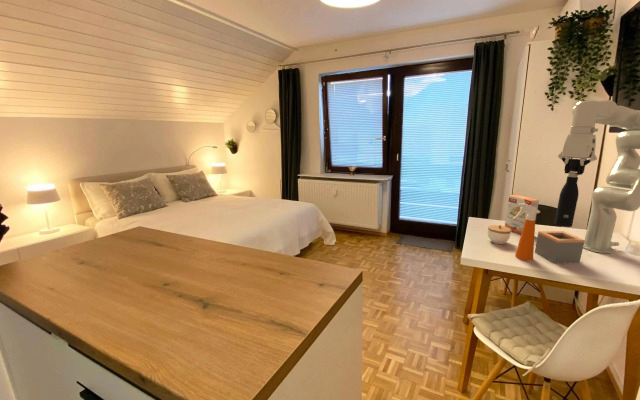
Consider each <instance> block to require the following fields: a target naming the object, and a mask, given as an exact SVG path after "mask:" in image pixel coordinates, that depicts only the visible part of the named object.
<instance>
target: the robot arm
mask: <svg viewBox="0 0 640 400" xmlns="http://www.w3.org/2000/svg"><path fill="white" fill-rule="evenodd" d="M571 113H572V116H573V117H572V122H571V128H570V130H569V131H570V132H569V134H567V135H566V138H565V141H564V144H563V147H562V151H561V152H560V153H559V154H558V155H557V157H558V158H559V159H560V160H562V162H563V164H564V174H568V173H569V172H571V171H570V169H571V167H569V164H570V159H580V166H578V170H577V172H576V173H577V175H578V176H582V175H583V174H584V172H585V169H586V166H587V165H588V164H590V163H592V162H595V161H598V157H597V155H596V153H595V152H596V146H597V145H596V144H597V143H596V142H597V134H594V133H597V132H599V128H596V127H595V126H596V124H600V125H606V126H612V127H616V128H619V129H624V130H623V131H621V132H619V133H617V136H616V137H615V146H616V147H615V148H616V150H617V151H616V153H617V156H616V157H617V158H616V160H615V162H614V163H613V165H612V167H611V169H610V170H609V172H608V174H607V175H606V178H605V182H606V183H607V185H609V186H599V187H597V188H595V189H594V190H593V191H592V193H591V209H590V213H589V219H588V223H587V228H586V232H585V238H584V240H585V242H584V246H583V250H587V251H591V252H594V253H601V254H612V253H613V252H614V249H613V248H612V247H619V245H620V243H619V241H612V238H613V233H614V230H615V226H616V222H617V213H616V211H615V209H616V210H622V211H626V212H634V211H637V210H639V209H640V154H639V153H638V151H637V150H640V110H638V109H633V108H629V107H626V106H625V105H617V103H616V101H613V100H610V99H607V100H605V99H603V100H581V101H580V100H579V101H578V102H576V103H575V105H574V107H573V108H572V111H571Z"/></svg>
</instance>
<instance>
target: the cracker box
mask: <svg viewBox="0 0 640 400" xmlns="http://www.w3.org/2000/svg"><path fill="white" fill-rule="evenodd" d="M519 203H522V204H523V203H524V204H527V205H530V206H532V207H534V208H536V209H538V210H539V208H538V207H539V203H540V200H539V199H535V198H531V197H527V196H523V195H519V194H510V195H509V196H508V204H507V207H506V208H507V209H506V215H505V216H506V217H505V220H504V226H505V227H508V228H510V229H511V232H514V233H516V234H519V235H521V234H522V230H523V227H524V223H525V220H526V215H527V214H528V212H525V213H524V214H522V215H521V216H519V217H518V218H515V219H513V218H514V217H515V216H516V215H517V214H518V213H519V212H520V210H521V209H520V208H521V206H519ZM524 211H526V210H524ZM537 214H538V213H536V214H535V216H536V217H537ZM535 221H537V218H536V219H535Z"/></svg>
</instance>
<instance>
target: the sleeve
mask: <svg viewBox="0 0 640 400" xmlns="http://www.w3.org/2000/svg"><path fill="white" fill-rule="evenodd" d="M584 242H585V239H583V238H580V237H578V236H575V235H573V234H571V233H569V232H566V231H564V230H550V231H549V230H543V231H542V230H540V231H539V230H538V232H537V238H536V242H535V243H536V244H535V247H534V253H535V254H537V255H538V256H541V257H542V258H544V259H545V260H547V261H549V262H551V263H552V264H580V263H581V258H582V254H583V250H584V248H583V246H584Z"/></svg>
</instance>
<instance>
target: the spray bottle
mask: <svg viewBox="0 0 640 400" xmlns="http://www.w3.org/2000/svg"><path fill="white" fill-rule="evenodd" d="M519 206H521V208H520V209H521V210H520V212H519V213H518V214H517V215H516V216H515V217H514V218H513V219H515V218H518V217H519V216H521V215H522V214H524V213H525V212H528V214H527V215H526V220H525V223H524V227H523V230H522V234H520V238H519V241H518V244H517V247H516V251H515V254H514V255H515V258H517V259H519V260H522V261H533V260H534V253H535V233H536V231H535V230H536V220H537V215H536V216H535V214H536V213H537V214H539V213H541V211H540V210H539V208H538V209H536V208H534V207H532V206H530V205H527V204H524V203H523V204H522V203H519ZM524 210H526V211H524ZM535 219H536V220H535Z"/></svg>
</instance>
